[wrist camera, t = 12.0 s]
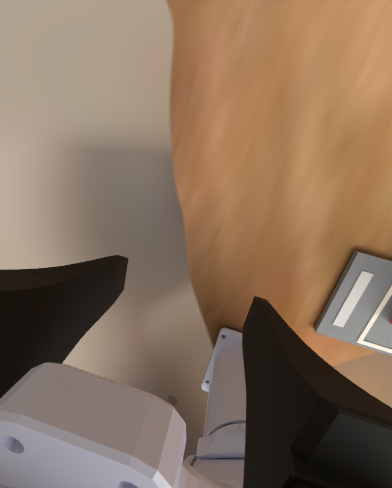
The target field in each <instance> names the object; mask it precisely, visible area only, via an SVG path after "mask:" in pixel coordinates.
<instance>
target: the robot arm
mask: <svg viewBox="0 0 392 488" xmlns="http://www.w3.org/2000/svg"><path fill="white" fill-rule="evenodd" d="M127 264H128V258H126V257H123V256H119V255H115V256H109V257H104V258H100V259H96V260H91V261H86V262H81V263H76V264H70V265H65V266H58V267H49V268H39V269H21V270H20V269H19V270H0V488H392V408H391V407H389V406H388V405H386V404H384V403H383V402H381V401H379V400H378V399H376V398H375V397H373V396H372V395H370V394H369V393H367V392H366V391H364V390H363V389H361V388H360V387H358V386H357V385H356V384H354V383H352V382H351V381H350V380H348V379H347V378H346V377H345V376H343V375H342V374H340V373H339V372H338V371H337V370H335V369H334V368H333V367H332V366H330V365H329V364H328V363H327V362H325V361H324V360H323V359H322V358H321V357H320V356H318V355H317V354H316V353H315V352H314V351H313V350H312V349H311V348H310V347H309V346H307V345H306V344H305V343H304V342H303V341H302V340H301V339H300V338H299V336H298V335H297V334H296V333H295V332H294V331H293V330H292V329H291V328H290V327H289V326H288V325H287V323H286V322H285V321H284V320H283V319H282V318H281V316H280V315H279V314H278V313H277V311H276V310H275V309H274V308H273V307H272V305H271V304H270V303H269V302H268V301H267V300H266V299H262V298H259V297H256V296H255V297H254V299H253V302H252V305H251V307H250V310H249V312H248V315H247V317H246V320H245V322H244V325H243V333H241V332H238V331H235V330H231V329H228V328H222V329H221V330H220V333H219V336H218V339H217V341H216V344H215V347H214V350H213V353H212V356H211V359H210V362H209V365H208V367H207V370H206V373H205V376H204V379H203V382H202V386H201V388H202V389H203V390H205V391H208V392H209V394H208V403H207V411H206V420H205V429H204V437H203V438H199V440H198V447H197V455H196V456H194V455H192V456H189V457H187V459H186V460H185V461H183V455H184V450H185V443H186V424H185V422H184V421H183V419H182V418H181V417H180V415H179V414H178V413H177V411H176V410H175V409H174V407H173V406H172V405H171V404H169V403H167V402H165V401H164V400H162V399H160V398H158V397H157V396H155V395H152V394H150V393H147V392H144V391H141V390H138V389H135V388H132V387H130V386H127V385H124V384H121V383H118V382H115V381H112V380H110V379H107V378H104V377H101V376H98V375H95V374H92V373H89V372H86V371H84V370H81V369H78V368H75V367H72V366H69V365H65V364H62V363H63V361H64V360H65V359H66V357H67V356H68V355H69V353H70V352H71V351H72V349H73V348H74V347H75V345H76V344H77V343H78V342H79V340H80V339H81V338H82V337H83V336H84V334H85V333H86V332H87V331H88V330H89V329H90V328H91V327H92V326H93V325H94V324H95V323H96V322H97V321H98V320H99V319H100V318H101V316H102V315H103V314H104V313H105V312H106V311H107V310H108V309H109V308H110V307H111V306H112V305H113V304H114V302H115V301H116V300H117V298H118V297H119V295H120V294H121V293H122V291H123V289H124V284H125V277H126V270H127ZM222 335H225V336H222ZM207 380H208V381H207Z"/></svg>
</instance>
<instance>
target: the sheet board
mask: <svg viewBox="0 0 392 488" xmlns="http://www.w3.org/2000/svg"><path fill="white" fill-rule="evenodd" d="M391 319H392V260H389V259H385V258H382V257H378V256H375V255H371V254H367V253H364V252H360V251H356V250H355V251H354V253H353V255H352V256H351V258H350V260H349V262H348V264H347V266H346V268H345V270H344V272H343V274H342V275H341V277H340V279H339V281H338V283H337V285H336V287H335V289H334V291H333V293H332V295H331V296H330V298H329V300H328V302H327V304H326V306H325V308H324V310H323V312H322V314H321V316H320V317H319V319H318V321H317V323H316V325H315V327H314V330H315V332H316V333H319V334H322V335H325V336H329V337H332V338H335V339H338V340H342V341H345V342H348V343H351V344H355V345H358V346H361V347H364V348H367V349H371V350H374V351H377V352H380V353H384V354H387V355H390V356H392V324H391V323H390V320H391Z"/></svg>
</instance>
